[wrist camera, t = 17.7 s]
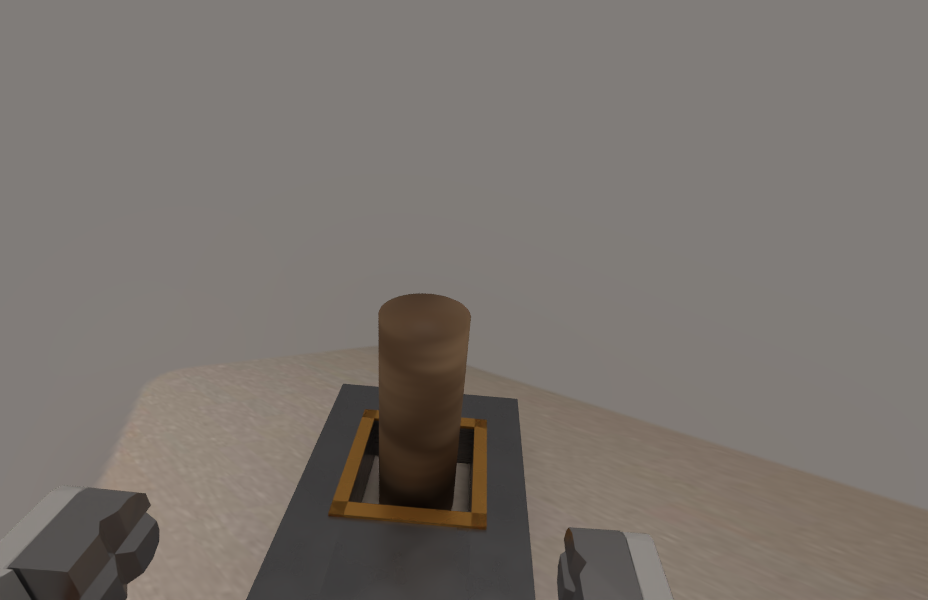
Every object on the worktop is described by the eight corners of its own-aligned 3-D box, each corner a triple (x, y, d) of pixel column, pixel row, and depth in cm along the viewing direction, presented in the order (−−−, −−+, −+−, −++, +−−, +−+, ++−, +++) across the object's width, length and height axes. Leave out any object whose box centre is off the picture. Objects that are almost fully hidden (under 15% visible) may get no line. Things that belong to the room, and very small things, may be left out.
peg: (442, 465, 32) (455, 290, 26) (462, 522, 28) (483, 333, 22) (374, 477, 30) (372, 296, 24) (385, 539, 26) (386, 342, 21)
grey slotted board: (512, 431, 35) (517, 396, 34) (558, 1114, 12) (581, 1099, 11) (344, 416, 35) (342, 381, 34) (81, 1069, 12) (40, 1047, 11)
